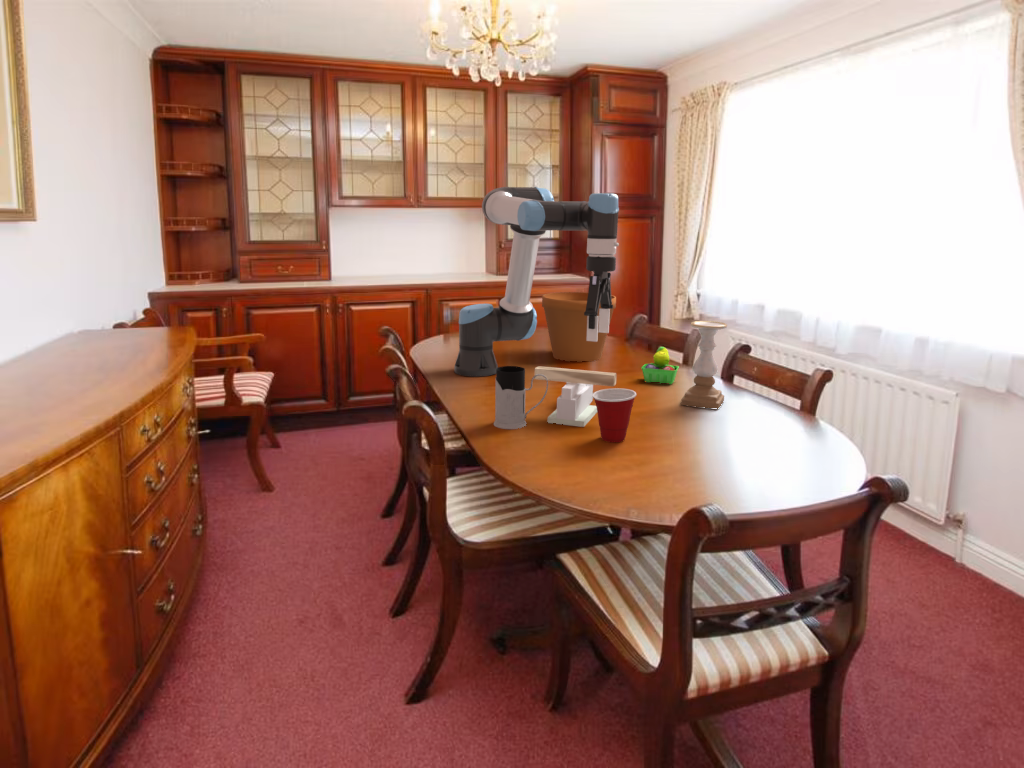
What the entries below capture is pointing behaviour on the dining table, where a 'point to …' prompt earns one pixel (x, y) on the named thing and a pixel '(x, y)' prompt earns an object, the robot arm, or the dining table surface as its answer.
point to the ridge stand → (573, 406)
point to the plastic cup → (614, 412)
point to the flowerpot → (572, 326)
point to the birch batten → (576, 376)
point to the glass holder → (511, 397)
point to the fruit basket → (660, 368)
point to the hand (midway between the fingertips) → (597, 336)
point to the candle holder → (705, 369)
